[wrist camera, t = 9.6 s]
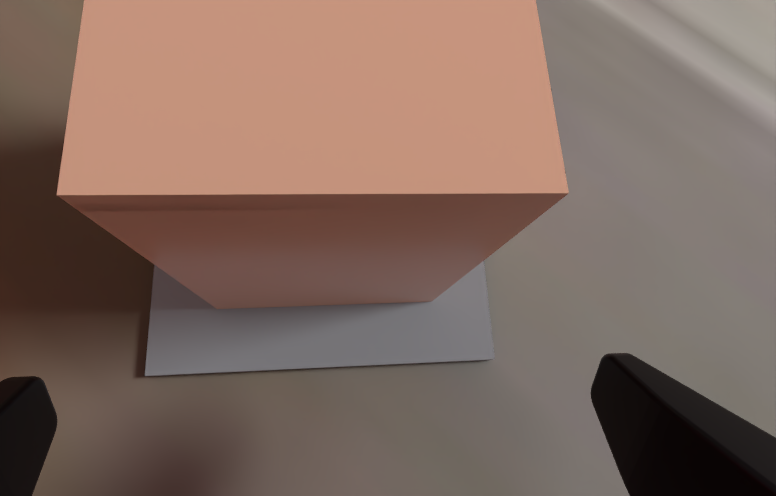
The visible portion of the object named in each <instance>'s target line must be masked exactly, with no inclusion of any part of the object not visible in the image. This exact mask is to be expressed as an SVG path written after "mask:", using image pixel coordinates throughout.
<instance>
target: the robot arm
mask: <svg viewBox="0 0 776 496" xmlns="http://www.w3.org/2000/svg"><path fill="white" fill-rule="evenodd" d="M591 399H592V403H593V406H594V408H595V411H596V413H597V416H598V419H599V421H600V424H601V426H602V429H603V431H604V434H605V436H606V439H607V442H608V444H609V447H610V449H611V452H612V454H613V457H614V459H615V462H616V465H617V467H618V470H619V472H620V475H621V477H622V479H623V482H624V484H625V486H626V488H627V490H628V493H629V495H630V496H776V438H775V437H774V436H772V435H770V434H768V433H767V432H765V431H763V430H761V429H760V428H758V427H756V426H755V425H753V424H751V423H749V422H748V421H746V420H744V419H742V418H741V417H739V416H737V415H735V414H734V413H732V412H730V411H728V410H727V409H725V408H723V407H722V406H720V405H718V404H716V403H715V402H713V401H711V400H709V399H708V398H706V397H704V396H702V395H701V394H699V393H697V392H696V391H694V390H692V389H690V388H689V387H687V386H685V385H683V384H682V383H680V382H678V381H676V380H675V379H673V378H671V377H669V376H668V375H666V374H664V373H663V372H661V371H659V370H657V369H656V368H654V367H652V366H650V365H649V364H647V363H645V362H643V361H642V360H640V359H638V358H637V357H635V356H633V355H631V354H628V353H611V354H606V355H604V356H603V357H602V359H601V361H600V364H599V367H598V370H597V373H596V376H595V379H594V381H593V384H592V388H591ZM56 427H57V415H56V412H55V409H54V406H53V404H52V401H51V398H50V396H49V393H48V391H47V388H46V385H45V383H44V381H43V380H42V379H41V378H39V377H36V376H29V377H11V378H7V379H4V380H3V381H1V382H0V496H32V494H33V491H34V489H35V486H36V483H37V480H38V478H39V475H40V472H41V470H42V467H43V464H44V461H45V459H46V456H47V453H48V451H49V448H50V445H51V443H52V440H53V437H54V434H55V431H56Z"/></svg>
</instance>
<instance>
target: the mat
mask: <svg viewBox="0 0 776 496" xmlns="http://www.w3.org/2000/svg"><path fill="white" fill-rule="evenodd" d="M493 359H495V357H494V348H493V339H492V329H491V320H490V311H489V302H488V293H487V284H486V275H485V265H484V261H482V262H481V263H480V264H479V265H477V266H476V267H475V268H474V269H472V270H471V271H470V272H469V273H467V274H466V275H465V276H463V277H462V278H461V279H460V280H458V281H457V282H456V283H455V284H453V285H452V286H451V287H450V288H448V289H447V290H446V291H445V292H443V293H442V294H441V295H439V296H438V297H437V298H436V299H434V300H433V301H432V302H405V303H376V304H348V305H320V306H292V307H264V308H236V309H216V308H215V307H213V306H212V305H211V304H209V303H208V302H206V301H205V300H204V299H202V298H201V297H199V296H198V295H196V294H195V293H194V292H192V291H191V290H189V289H188V288H187V287H185V286H184V285H182V284H181V283H180V282H178V281H177V280H175V279H174V278H173V277H171V276H170V275H168V274H167V273H165V272H164V271H163V270H161V269H160V268H158V267H157V266H156V265H154V274H153V285H152V297H151V309H150V320H149V332H148V344H147V355H146V367H145V376H163V375H184V374H205V373H226V372H247V371H268V370H289V369H310V368H331V367H352V366H373V365H394V364H415V363H436V362H457V361H478V360H493Z"/></svg>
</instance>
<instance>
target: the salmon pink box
mask: <svg viewBox="0 0 776 496" xmlns="http://www.w3.org/2000/svg"><path fill="white" fill-rule="evenodd" d="M568 193H569V192H568V186H567V180H566V175H565V169H564V163H563V157H562V151H561V145H560V140H559V134H558V128H557V122H556V116H555V110H554V105H553V99H552V93H551V87H550V81H549V75H548V70H547V64H546V58H545V52H544V46H543V40H542V35H541V29H540V23H539V17H538V11H537V5H536V0H84V7H83V14H82V21H81V28H80V35H79V42H78V49H77V56H76V63H75V70H74V77H73V84H72V91H71V98H70V105H69V111H68V118H67V125H66V132H65V139H64V146H63V153H62V160H61V167H60V174H59V181H58V188H57V196H58V197H60V198H61V199H63V200H64V201H65V202H67V203H68V204H70V205H71V206H72V207H74V208H75V209H77V210H78V211H80V212H81V213H82V214H84V215H85V216H87V217H88V218H89V219H91V220H92V221H94V222H95V223H96V224H98V225H99V226H101V227H102V228H103V229H105V230H106V231H108V232H109V233H111V234H112V235H113V236H115V237H116V238H118V239H119V240H120V241H122V242H123V243H125V244H126V245H127V246H129V247H130V248H132V249H133V250H134V251H136V252H137V253H139V254H140V255H142V256H143V257H144V258H146V259H147V260H149V261H150V262H151V263H153V264H154V265H156V266H157V267H158V268H160V269H161V270H163V271H164V272H165V273H167V274H168V275H170V276H171V277H173V278H174V279H175V280H177V281H178V282H180V283H181V284H182V285H184V286H185V287H187V288H188V289H189V290H191V291H192V292H194V293H195V294H196V295H198V296H199V297H201V298H202V299H204V300H205V301H206V302H208V303H209V304H211V305H212V306H213V307H215V308H216V309H236V308H264V307H292V306H320V305H348V304H376V303H405V302H432V301H433V300H434V299H436V298H437V297H438V296H439V295H441V294H442V293H443V292H445V291H446V290H447V289H448V288H450V287H451V286H452V285H453V284H455V283H456V282H457V281H458V280H460V279H461V278H462V277H463V276H465V275H466V274H467V273H469V272H470V271H471V270H472V269H474V268H475V267H476V266H477V265H479V264H480V263H481V262H482V261H484V260H485V259H486V258H487V257H489V256H490V255H491V254H493V253H494V252H495V251H496V250H498V249H499V248H500V247H501V246H503V245H504V244H505V243H506V242H508V241H509V240H510V239H511V238H513V237H514V236H515V235H517V234H518V233H519V232H520V231H522V230H523V229H524V228H525V227H527V226H528V225H529V224H530V223H532V222H533V221H534V220H535V219H537V218H538V217H539V216H541V215H542V214H543V213H544V212H546V211H547V210H548V209H549V208H551V207H552V206H553V205H554V204H556V203H557V202H558V201H559V200H561V199H562V198H563V197H565V196H566V195H567V194H568Z"/></svg>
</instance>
